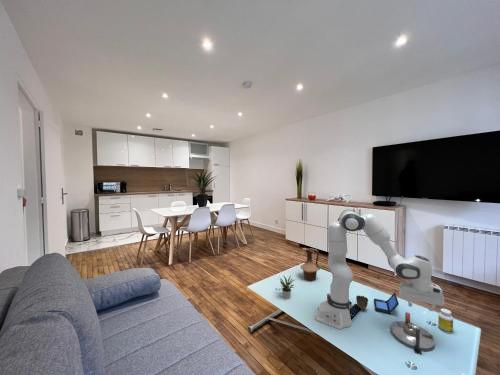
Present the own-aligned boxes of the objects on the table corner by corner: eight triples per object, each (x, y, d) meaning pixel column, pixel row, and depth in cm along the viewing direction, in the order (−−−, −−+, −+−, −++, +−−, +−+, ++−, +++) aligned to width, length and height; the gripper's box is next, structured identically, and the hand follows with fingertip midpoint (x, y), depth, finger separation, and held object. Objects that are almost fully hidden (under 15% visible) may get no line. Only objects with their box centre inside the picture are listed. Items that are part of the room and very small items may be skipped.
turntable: (394, 342, 115) (394, 328, 115) (388, 320, 133) (388, 308, 132) (440, 354, 107) (441, 339, 106) (427, 328, 125) (427, 316, 124)
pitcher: (321, 276, 196) (320, 246, 195) (319, 284, 181) (319, 252, 179) (302, 273, 203) (301, 244, 202) (298, 281, 188) (298, 250, 187)
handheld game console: (373, 300, 157) (373, 288, 157) (395, 304, 151) (395, 292, 150) (375, 312, 143) (375, 298, 143) (398, 317, 137) (398, 303, 137)
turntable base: (394, 344, 115) (394, 343, 115) (387, 321, 133) (387, 320, 133) (441, 356, 107) (441, 355, 107) (427, 330, 125) (427, 329, 125)
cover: (405, 334, 118) (405, 326, 118) (402, 326, 125) (402, 318, 124) (420, 338, 115) (420, 329, 115) (416, 330, 122) (416, 321, 121)
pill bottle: (449, 335, 121) (449, 315, 120) (435, 327, 127) (436, 309, 126) (455, 331, 123) (455, 312, 123) (441, 324, 129) (442, 306, 129)
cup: (357, 304, 151) (357, 293, 151) (368, 308, 147) (369, 297, 146) (354, 309, 146) (354, 298, 145) (366, 313, 141) (366, 302, 141)
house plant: (296, 292, 169) (296, 272, 168) (298, 302, 155) (298, 281, 155) (278, 291, 170) (278, 272, 170) (279, 301, 157) (279, 280, 156)
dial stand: (414, 352, 109) (414, 330, 109) (410, 342, 116) (410, 321, 116) (422, 355, 108) (422, 332, 107) (417, 344, 115) (418, 323, 114)
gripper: (400, 283, 121) (399, 306, 122) (446, 291, 112) (445, 316, 113) (398, 278, 127) (397, 300, 128) (441, 286, 118) (440, 309, 119)
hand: (420, 308), depth 120 cm, fingers open, 8 cm apart
